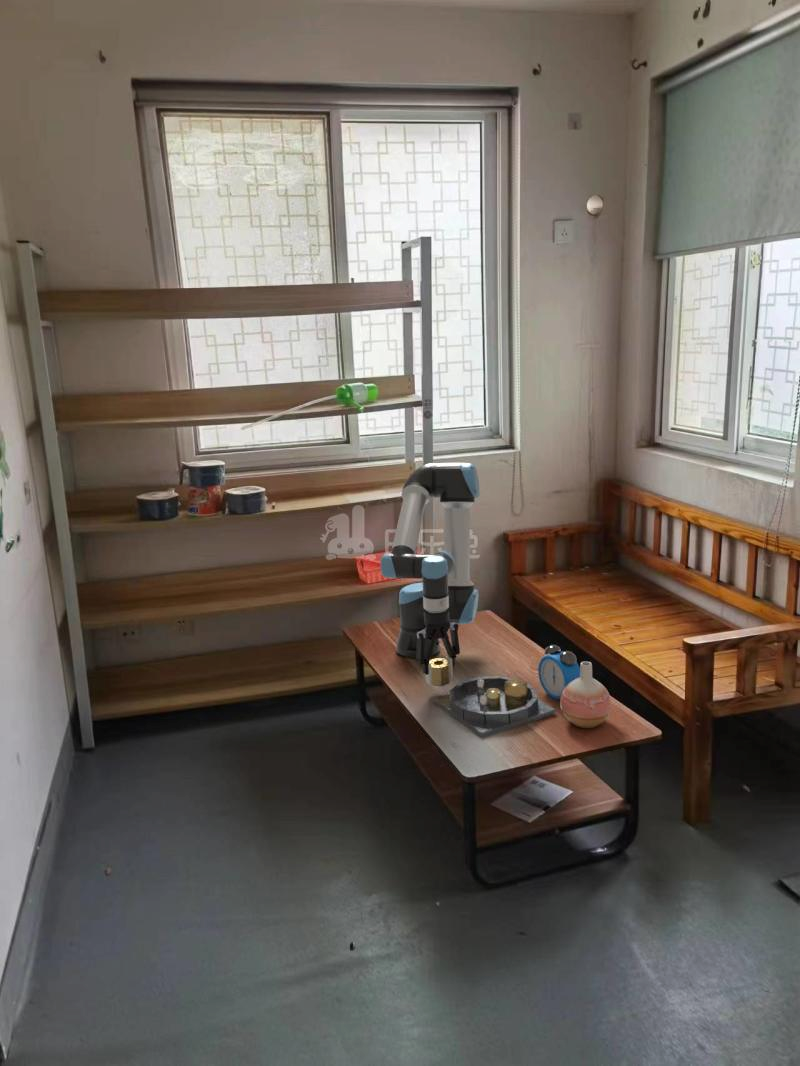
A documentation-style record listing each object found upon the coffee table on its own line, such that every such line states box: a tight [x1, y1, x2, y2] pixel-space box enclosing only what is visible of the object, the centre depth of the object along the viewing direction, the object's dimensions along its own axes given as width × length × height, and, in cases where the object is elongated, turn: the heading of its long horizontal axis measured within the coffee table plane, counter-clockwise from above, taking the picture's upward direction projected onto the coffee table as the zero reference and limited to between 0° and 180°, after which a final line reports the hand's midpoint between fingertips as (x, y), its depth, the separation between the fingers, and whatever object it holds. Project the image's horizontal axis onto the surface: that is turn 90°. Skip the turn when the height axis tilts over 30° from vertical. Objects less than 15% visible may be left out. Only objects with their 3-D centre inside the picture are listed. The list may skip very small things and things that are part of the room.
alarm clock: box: [537, 644, 580, 700], centre depth 235 cm, size 13×6×15 cm, turn 30°
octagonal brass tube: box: [429, 657, 452, 687], centre depth 240 cm, size 6×6×6 cm
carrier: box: [433, 675, 557, 738], centre depth 230 cm, size 25×25×8 cm
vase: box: [559, 660, 612, 729], centre depth 218 cm, size 14×14×18 cm
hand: (439, 679), depth 241 cm, fingers closed on octagonal brass tube, 6 cm apart
